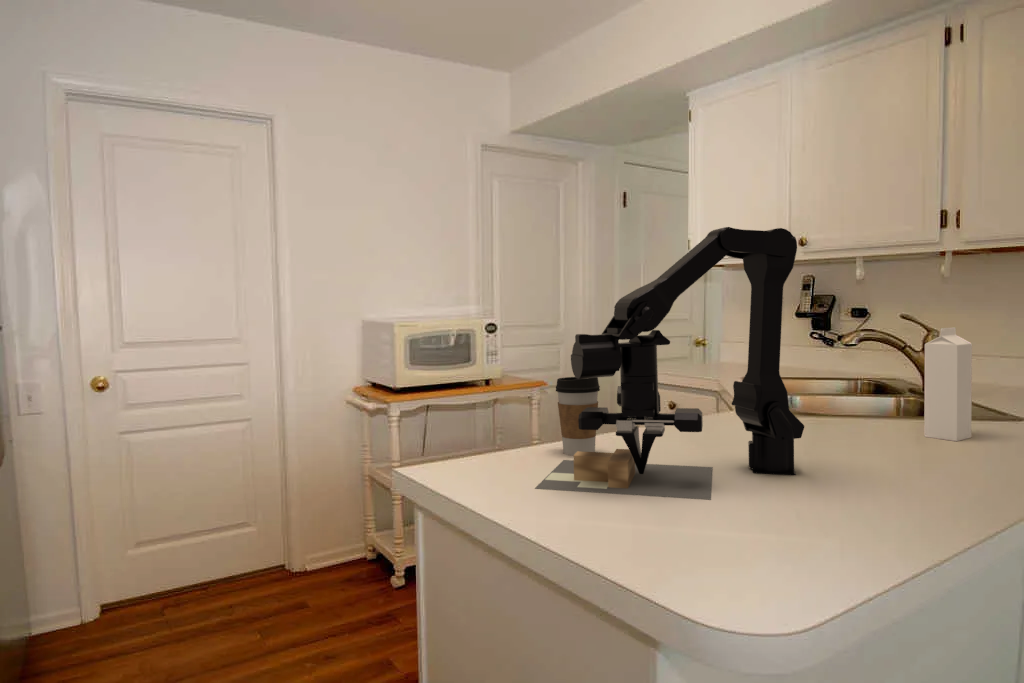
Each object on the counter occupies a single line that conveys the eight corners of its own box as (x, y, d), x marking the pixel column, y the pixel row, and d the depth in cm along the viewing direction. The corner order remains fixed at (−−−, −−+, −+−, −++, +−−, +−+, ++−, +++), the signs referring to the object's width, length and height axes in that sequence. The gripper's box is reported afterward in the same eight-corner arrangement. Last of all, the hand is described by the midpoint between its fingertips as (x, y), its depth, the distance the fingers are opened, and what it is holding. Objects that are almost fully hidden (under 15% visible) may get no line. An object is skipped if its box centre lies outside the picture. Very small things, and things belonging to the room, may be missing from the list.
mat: (712, 469, 108) (712, 466, 108) (710, 502, 90) (710, 499, 90) (563, 462, 117) (563, 459, 117) (534, 491, 99) (534, 488, 99)
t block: (635, 473, 106) (634, 449, 105) (628, 488, 97) (627, 462, 97) (581, 470, 108) (581, 447, 108) (570, 485, 100) (569, 459, 100)
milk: (924, 437, 129) (923, 328, 128) (939, 433, 132) (938, 326, 131) (957, 441, 124) (957, 328, 123) (972, 437, 127) (972, 327, 126)
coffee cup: (587, 461, 116) (585, 379, 116) (548, 456, 122) (546, 377, 121) (609, 452, 123) (607, 375, 122) (572, 447, 128) (570, 373, 127)
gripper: (702, 369, 105) (704, 463, 106) (589, 370, 111) (592, 459, 111) (700, 376, 94) (703, 481, 95) (576, 377, 100) (579, 475, 101)
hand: (641, 473), depth 101 cm, fingers closed
